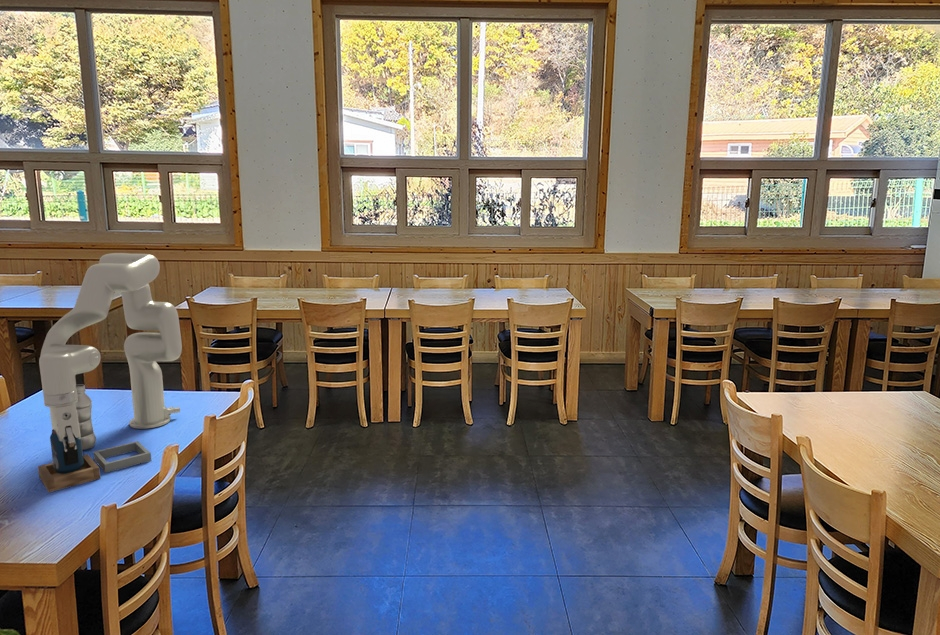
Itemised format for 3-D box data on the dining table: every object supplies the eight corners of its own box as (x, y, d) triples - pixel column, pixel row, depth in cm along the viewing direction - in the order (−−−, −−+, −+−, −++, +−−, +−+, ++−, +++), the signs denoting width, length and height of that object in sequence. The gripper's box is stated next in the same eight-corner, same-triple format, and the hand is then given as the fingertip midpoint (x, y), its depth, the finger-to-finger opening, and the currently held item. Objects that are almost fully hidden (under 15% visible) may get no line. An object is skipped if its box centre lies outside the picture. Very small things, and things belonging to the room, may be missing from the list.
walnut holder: (89, 464, 176) (87, 454, 175) (100, 478, 168) (99, 467, 167) (39, 477, 168) (37, 466, 167) (48, 492, 159) (47, 480, 159)
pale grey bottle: (70, 454, 183) (63, 390, 179) (73, 446, 189) (66, 384, 185) (95, 450, 186) (89, 388, 182) (97, 442, 192) (91, 382, 188)
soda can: (89, 464, 171) (85, 423, 169) (74, 475, 164) (69, 433, 162) (64, 464, 171) (59, 423, 168) (48, 475, 164) (43, 433, 162)
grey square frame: (138, 448, 188) (137, 441, 187) (151, 460, 179) (150, 452, 179) (94, 459, 179) (93, 451, 179) (105, 472, 171) (104, 464, 171)
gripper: (85, 402, 160) (92, 465, 163) (69, 387, 172) (76, 446, 175) (51, 409, 155) (59, 474, 158) (37, 392, 167) (45, 453, 170)
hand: (68, 458), depth 167 cm, fingers closed on soda can, 6 cm apart
